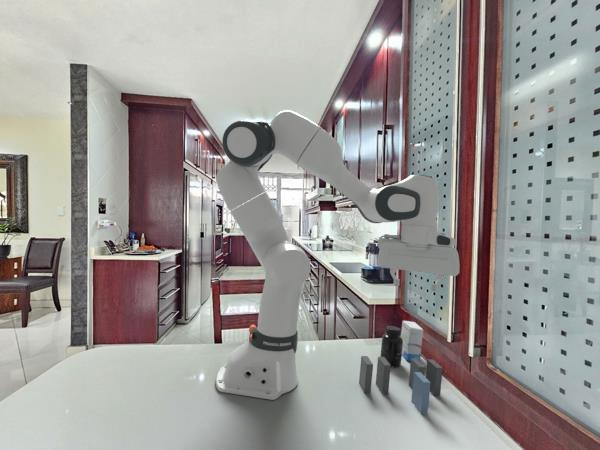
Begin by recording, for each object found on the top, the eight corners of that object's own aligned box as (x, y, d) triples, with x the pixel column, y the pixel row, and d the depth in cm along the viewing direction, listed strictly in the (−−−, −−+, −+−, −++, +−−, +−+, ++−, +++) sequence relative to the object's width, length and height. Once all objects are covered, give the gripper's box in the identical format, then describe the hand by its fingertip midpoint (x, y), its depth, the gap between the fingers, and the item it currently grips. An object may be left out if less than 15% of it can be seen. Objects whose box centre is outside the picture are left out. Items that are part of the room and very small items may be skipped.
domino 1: (364, 393, 80) (366, 364, 80) (358, 383, 85) (361, 355, 85) (370, 393, 80) (373, 364, 80) (364, 383, 85) (367, 356, 85)
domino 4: (420, 414, 73) (423, 382, 73) (411, 401, 78) (414, 371, 78) (427, 414, 73) (430, 382, 73) (417, 401, 78) (420, 372, 78)
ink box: (421, 362, 102) (424, 329, 101) (406, 361, 102) (409, 327, 102) (412, 352, 110) (414, 321, 110) (398, 350, 110) (401, 319, 110)
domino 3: (416, 395, 81) (419, 366, 81) (408, 385, 86) (410, 358, 86) (422, 395, 81) (425, 367, 81) (414, 385, 86) (416, 358, 86)
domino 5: (433, 396, 81) (436, 367, 81) (424, 386, 86) (427, 359, 86) (440, 396, 81) (442, 368, 81) (430, 386, 86) (433, 359, 86)
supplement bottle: (402, 369, 95) (405, 333, 95) (380, 365, 97) (383, 329, 97) (399, 360, 102) (402, 326, 102) (379, 356, 103) (382, 323, 103)
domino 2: (381, 393, 80) (384, 365, 80) (375, 383, 85) (378, 356, 85) (388, 394, 80) (390, 365, 80) (381, 384, 85) (384, 356, 85)
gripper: (377, 233, 79) (373, 284, 79) (462, 240, 71) (458, 296, 71) (380, 233, 85) (377, 280, 85) (459, 239, 77) (456, 291, 77)
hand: (414, 288), depth 78 cm, fingers open, 8 cm apart
